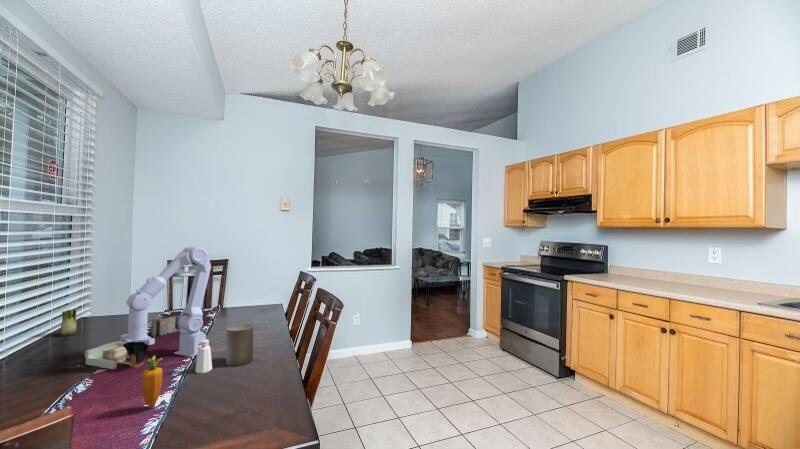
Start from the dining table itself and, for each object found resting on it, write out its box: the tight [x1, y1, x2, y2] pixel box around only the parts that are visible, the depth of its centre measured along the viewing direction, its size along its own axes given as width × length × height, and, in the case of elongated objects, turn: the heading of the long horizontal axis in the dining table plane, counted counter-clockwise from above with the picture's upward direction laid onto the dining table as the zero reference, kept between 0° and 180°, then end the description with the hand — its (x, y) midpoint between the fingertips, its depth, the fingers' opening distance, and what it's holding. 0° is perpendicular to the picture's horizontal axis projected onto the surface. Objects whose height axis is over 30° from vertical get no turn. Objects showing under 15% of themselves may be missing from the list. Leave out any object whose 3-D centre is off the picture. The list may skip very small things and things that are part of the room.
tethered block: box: [102, 346, 144, 369], centre depth 128 cm, size 16×5×5 cm, turn 74°
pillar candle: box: [225, 322, 254, 367], centre depth 133 cm, size 10×10×15 cm
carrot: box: [141, 355, 164, 409], centre depth 98 cm, size 5×5×15 cm
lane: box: [85, 341, 130, 370], centre depth 130 cm, size 14×10×5 cm
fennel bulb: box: [59, 308, 77, 337], centre depth 158 cm, size 6×5×12 cm
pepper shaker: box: [194, 338, 213, 374], centre depth 124 cm, size 5×5×11 cm
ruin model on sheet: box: [151, 315, 181, 338], centre depth 164 cm, size 11×3×10 cm, turn 150°
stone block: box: [83, 340, 126, 359], centre depth 138 cm, size 12×5×10 cm
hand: (136, 361), depth 126 cm, fingers closed on tethered block, 2 cm apart
